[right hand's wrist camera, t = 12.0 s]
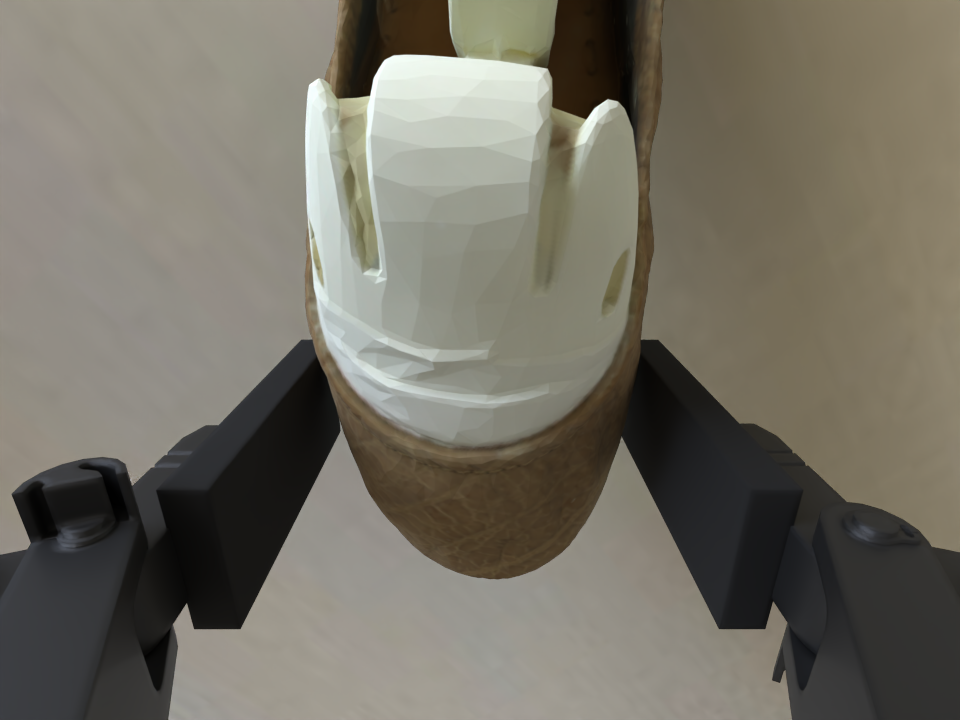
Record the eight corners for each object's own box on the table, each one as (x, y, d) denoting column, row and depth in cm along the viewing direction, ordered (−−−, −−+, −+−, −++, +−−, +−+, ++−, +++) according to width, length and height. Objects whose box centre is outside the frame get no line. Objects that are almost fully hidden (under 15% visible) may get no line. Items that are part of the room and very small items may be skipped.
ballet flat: (304, 527, 15) (37, 813, 6) (409, -392, 13) (231, -1823, 4) (585, 568, 15) (709, 924, 6) (734, -358, 13) (1232, -1786, 4)
